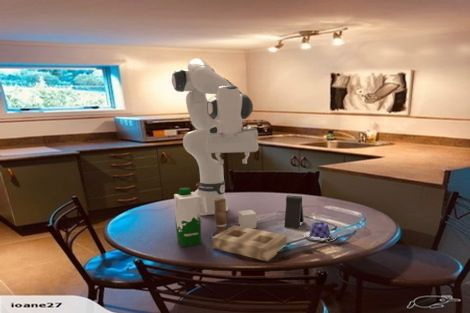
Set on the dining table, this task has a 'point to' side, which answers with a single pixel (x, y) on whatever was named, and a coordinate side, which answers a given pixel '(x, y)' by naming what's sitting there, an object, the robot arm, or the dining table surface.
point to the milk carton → (187, 217)
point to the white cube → (247, 218)
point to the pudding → (319, 230)
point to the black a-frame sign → (293, 212)
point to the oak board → (249, 242)
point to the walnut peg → (220, 214)
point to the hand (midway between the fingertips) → (232, 164)
